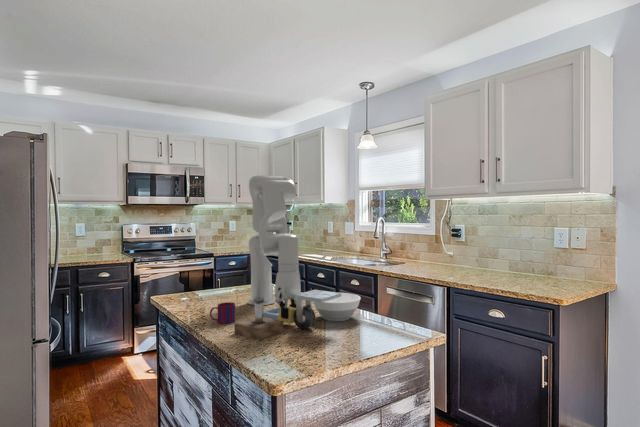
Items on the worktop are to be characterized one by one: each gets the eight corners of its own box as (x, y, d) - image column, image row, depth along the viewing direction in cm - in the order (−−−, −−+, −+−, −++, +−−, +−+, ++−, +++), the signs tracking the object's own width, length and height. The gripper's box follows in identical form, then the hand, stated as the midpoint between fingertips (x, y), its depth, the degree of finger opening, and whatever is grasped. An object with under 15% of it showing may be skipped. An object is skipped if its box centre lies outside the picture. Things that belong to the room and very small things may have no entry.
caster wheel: (307, 322, 156) (307, 288, 156) (341, 329, 146) (341, 293, 146) (287, 329, 146) (286, 293, 146) (321, 337, 137) (321, 299, 137)
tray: (283, 311, 174) (283, 305, 174) (303, 314, 167) (303, 308, 167) (260, 318, 163) (260, 311, 163) (280, 322, 156) (280, 315, 156)
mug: (237, 322, 157) (237, 304, 157) (212, 326, 151) (212, 308, 151) (232, 318, 162) (231, 301, 162) (206, 322, 157) (206, 304, 157)
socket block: (259, 325, 152) (259, 316, 152) (283, 331, 145) (283, 321, 145) (234, 333, 142) (234, 323, 142) (258, 339, 135) (258, 329, 135)
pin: (259, 330, 146) (259, 296, 146) (266, 331, 144) (266, 298, 144) (251, 332, 143) (251, 298, 143) (259, 334, 141) (258, 299, 141)
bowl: (370, 317, 163) (370, 296, 163) (339, 327, 149) (339, 305, 149) (334, 309, 176) (333, 290, 176) (301, 318, 162) (301, 297, 162)
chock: (285, 317, 156) (286, 304, 156) (296, 321, 152) (298, 308, 152) (277, 319, 153) (278, 306, 152) (289, 324, 149) (290, 310, 149)
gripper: (295, 265, 161) (295, 311, 161) (265, 269, 148) (265, 320, 148) (310, 266, 157) (310, 313, 157) (280, 271, 143) (281, 323, 143)
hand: (288, 316), depth 152 cm, fingers closed on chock, 4 cm apart
